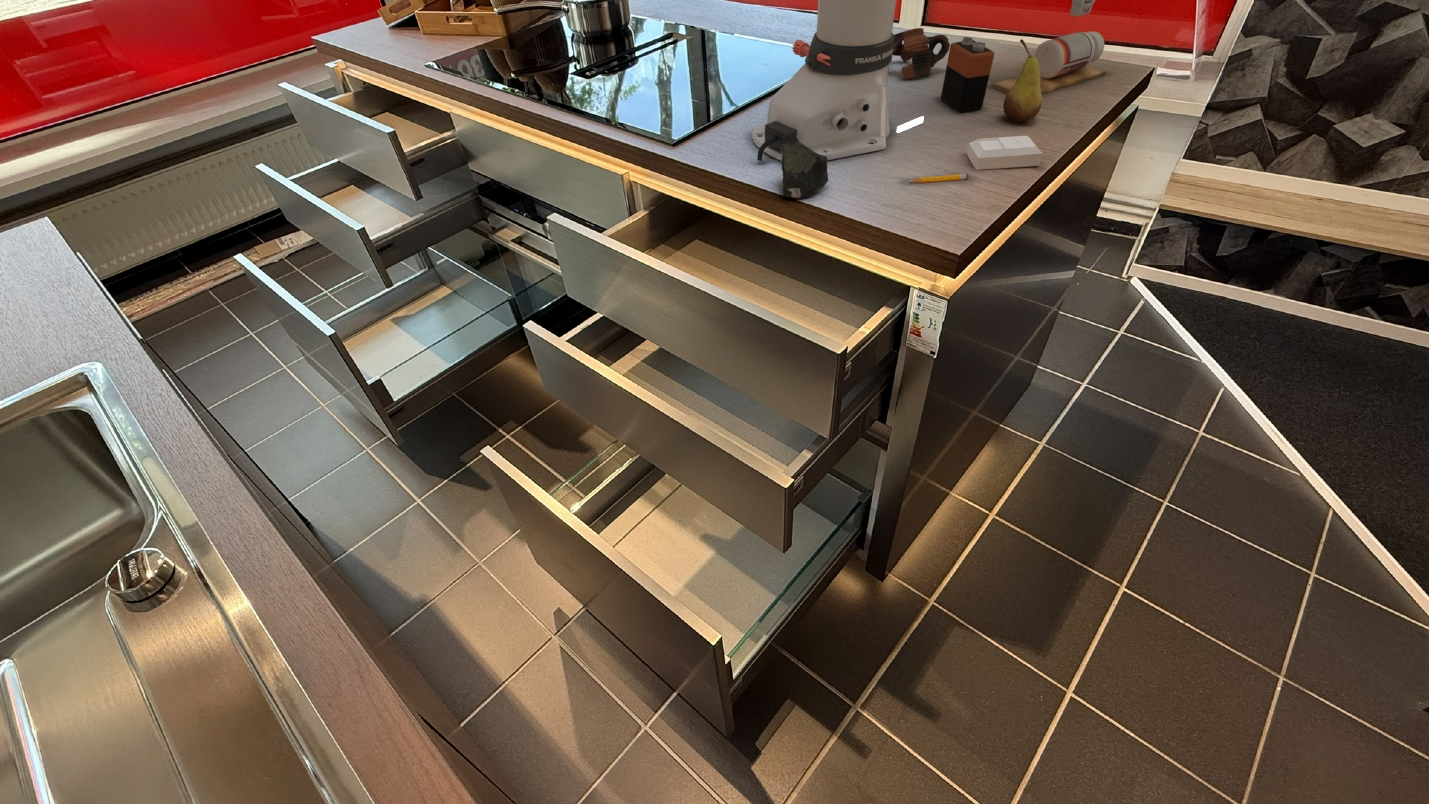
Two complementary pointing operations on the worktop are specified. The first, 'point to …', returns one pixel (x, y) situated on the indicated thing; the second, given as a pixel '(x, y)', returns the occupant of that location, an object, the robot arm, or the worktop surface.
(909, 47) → the pottery mug
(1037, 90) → the fruit
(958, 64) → the battery
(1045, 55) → the pill bottle
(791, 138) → the rock
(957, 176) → the pencil
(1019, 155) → the soap bar
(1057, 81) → the wooden board
